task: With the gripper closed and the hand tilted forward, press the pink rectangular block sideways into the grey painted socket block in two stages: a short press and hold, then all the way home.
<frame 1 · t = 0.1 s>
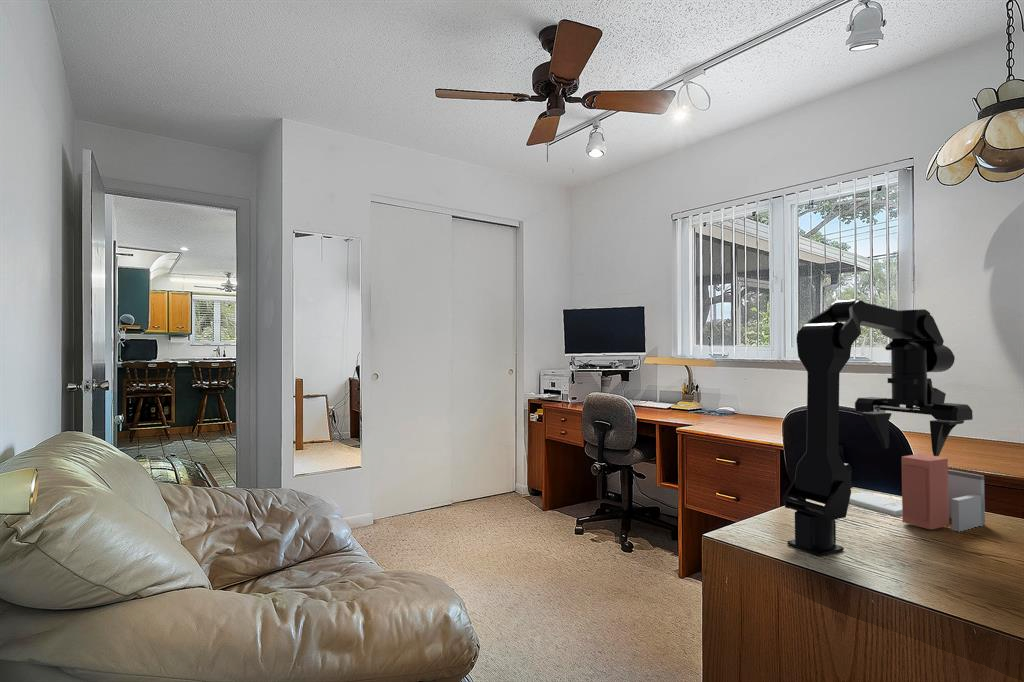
hand: (910, 451, 107), 15 cm above the table, tool pointing down, fingers open, 9 cm apart
external hard drive: (879, 508, 120), on the table
socket block: (948, 520, 110), on the table
pink rectangular block: (924, 490, 106), point 7 cm above the table, slide at 0.0 cm
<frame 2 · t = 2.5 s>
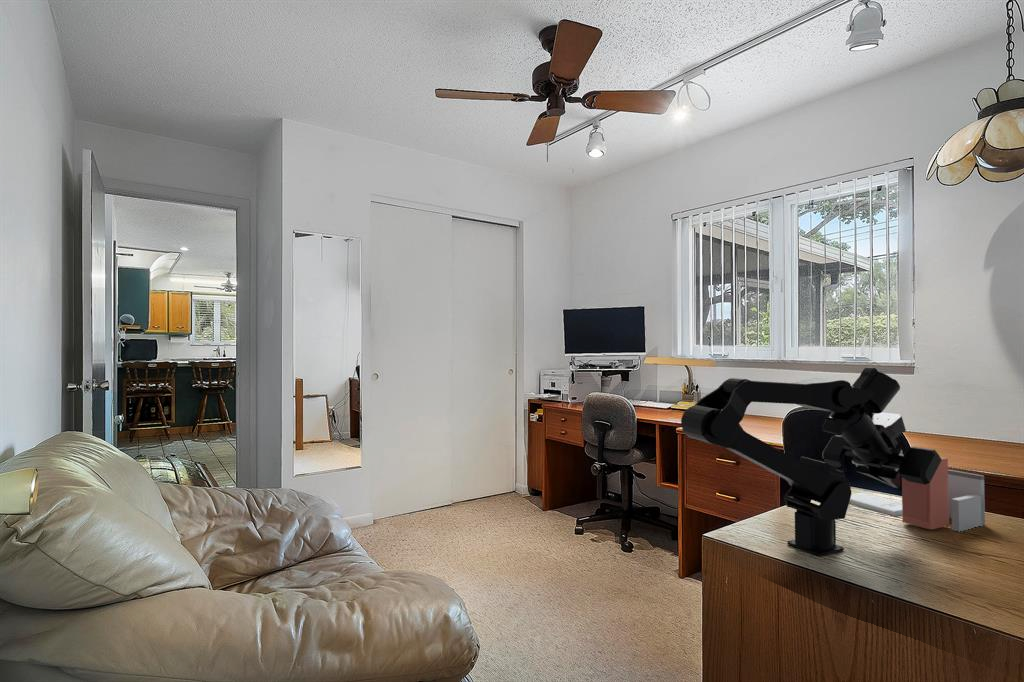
hand: (897, 485, 103), 9 cm above the table, tool tilted 45°, fingers closed
nothing on the table moved.
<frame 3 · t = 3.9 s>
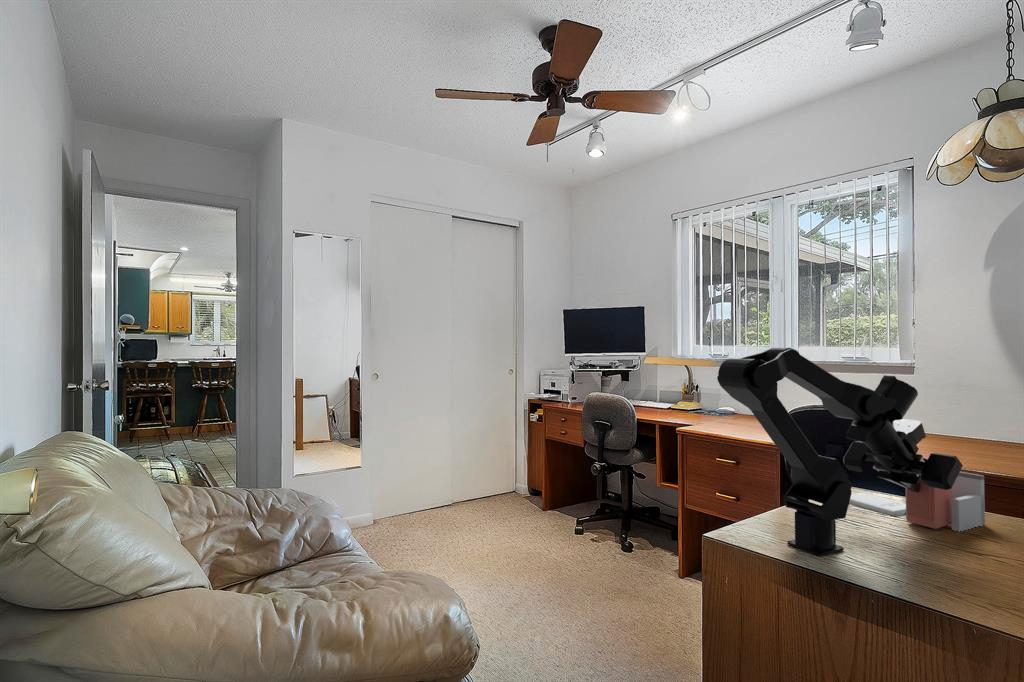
hand: (917, 490, 106), 7 cm above the table, tool tilted 45°, fingers closed, pressing on pink rectangular block
pink rectangular block: (928, 489, 107), point 7 cm above the table, slide at 1.4 cm, touching gripper
everything else where it was.
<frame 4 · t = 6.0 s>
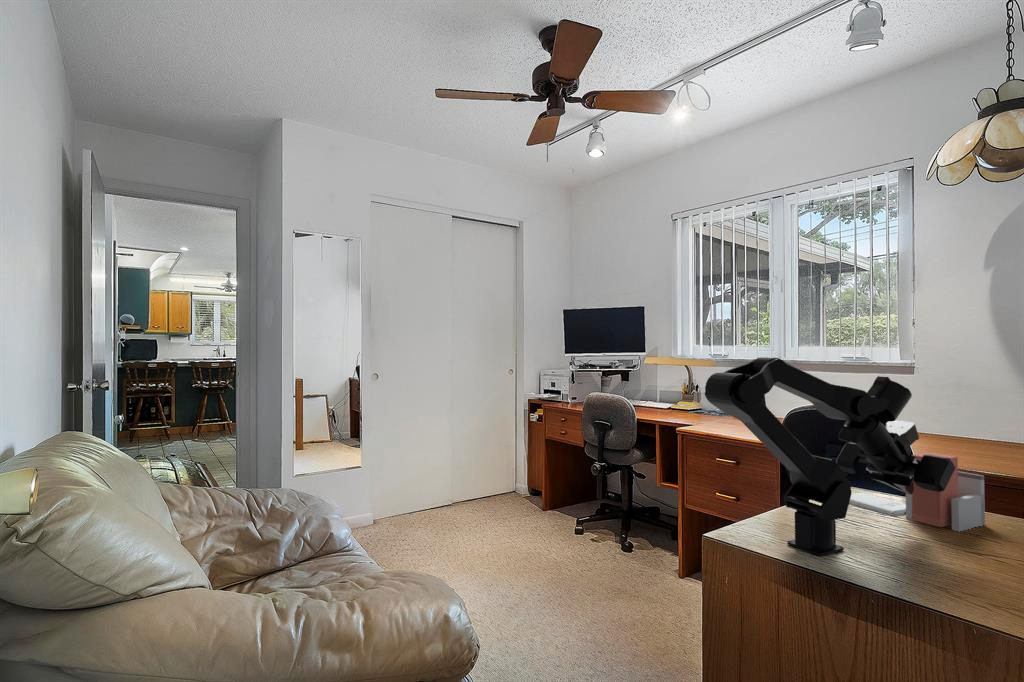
hand: (910, 492, 105), 7 cm above the table, tool tilted 45°, fingers closed
pink rectangular block: (934, 488, 108), point 7 cm above the table, slide at 3.4 cm
everything else where it was.
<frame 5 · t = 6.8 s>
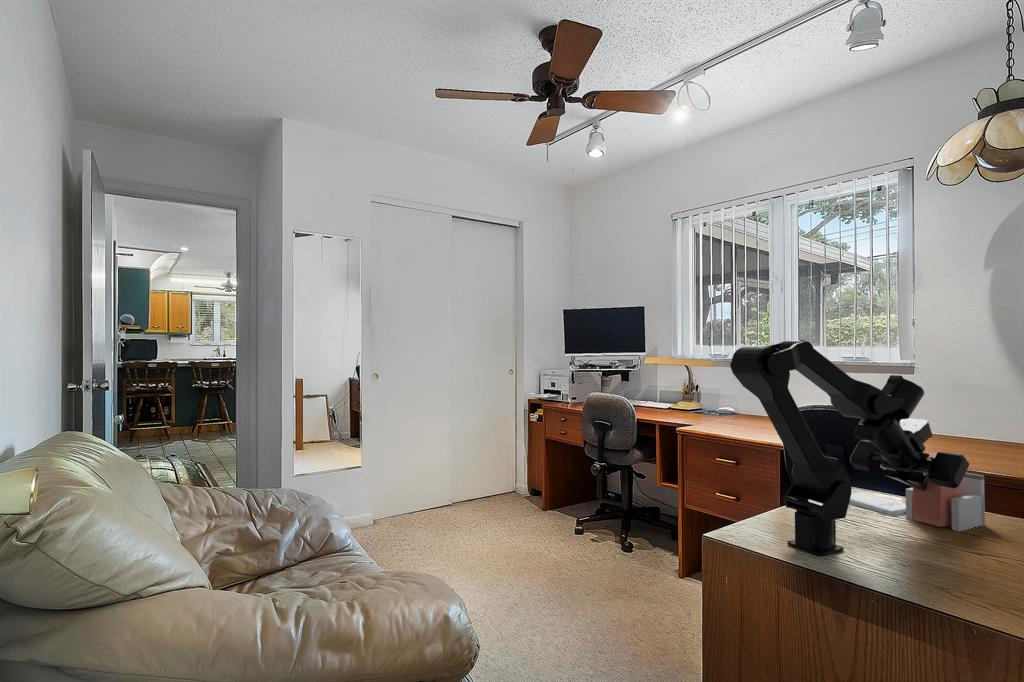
hand: (924, 488, 106), 7 cm above the table, tool tilted 45°, fingers closed, pressing on pink rectangular block
pink rectangular block: (934, 488, 108), point 7 cm above the table, slide at 3.5 cm, touching gripper
everything else where it was.
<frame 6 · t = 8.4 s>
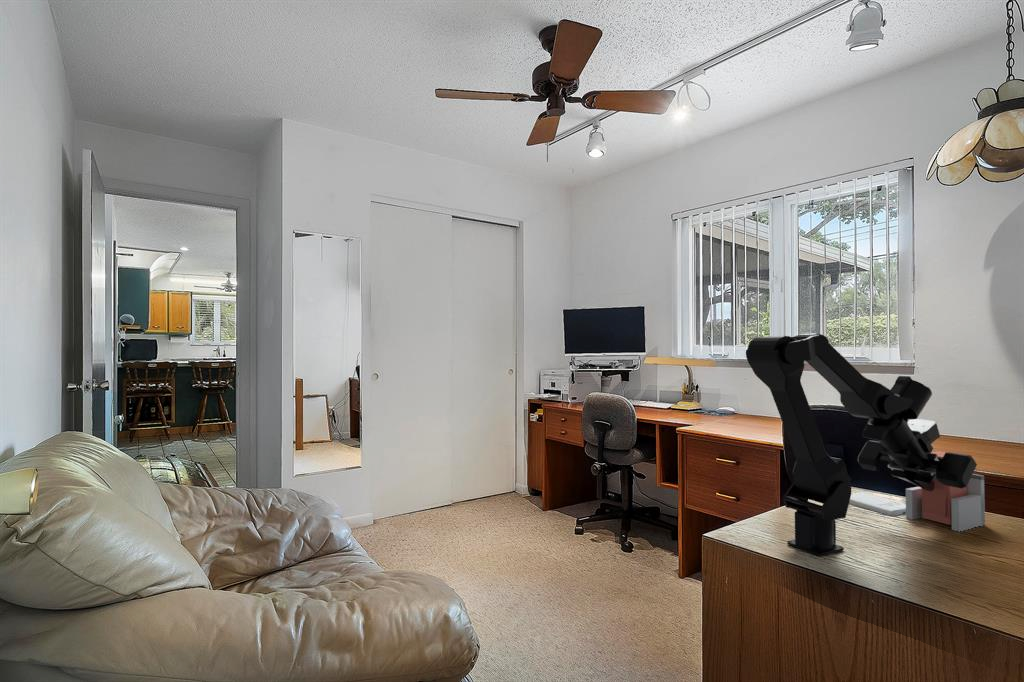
hand: (931, 489, 107), 7 cm above the table, tool tilted 45°, fingers closed
pink rectangular block: (943, 487, 109), point 7 cm above the table, slide at 6.5 cm
everything else where it was.
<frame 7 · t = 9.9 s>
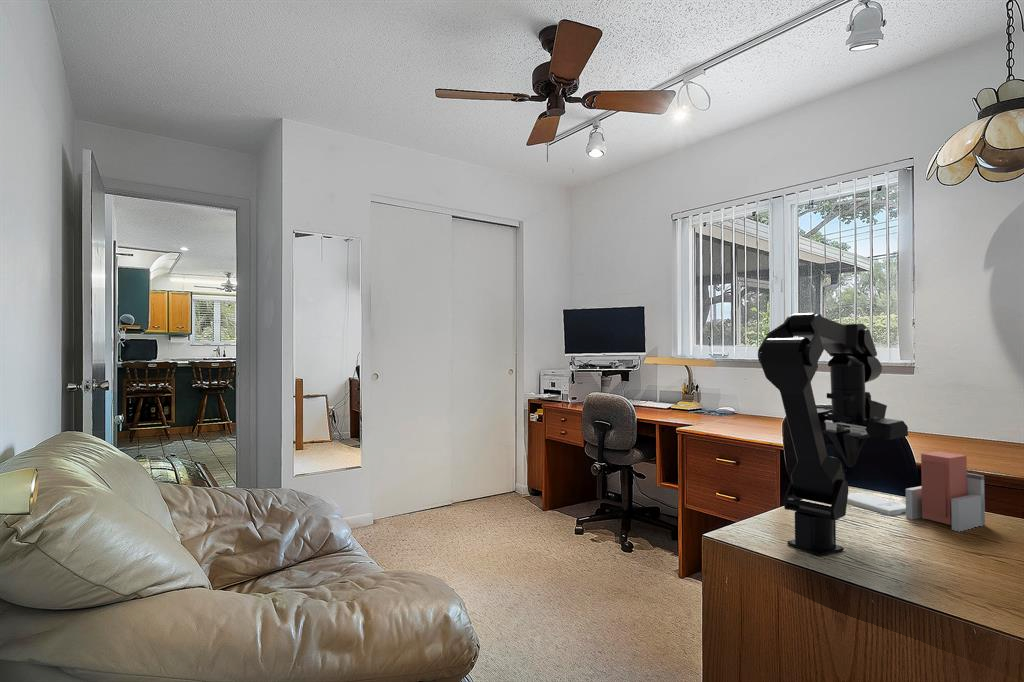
hand: (850, 466, 107), 12 cm above the table, tool pointing down, fingers closed
nothing on the table moved.
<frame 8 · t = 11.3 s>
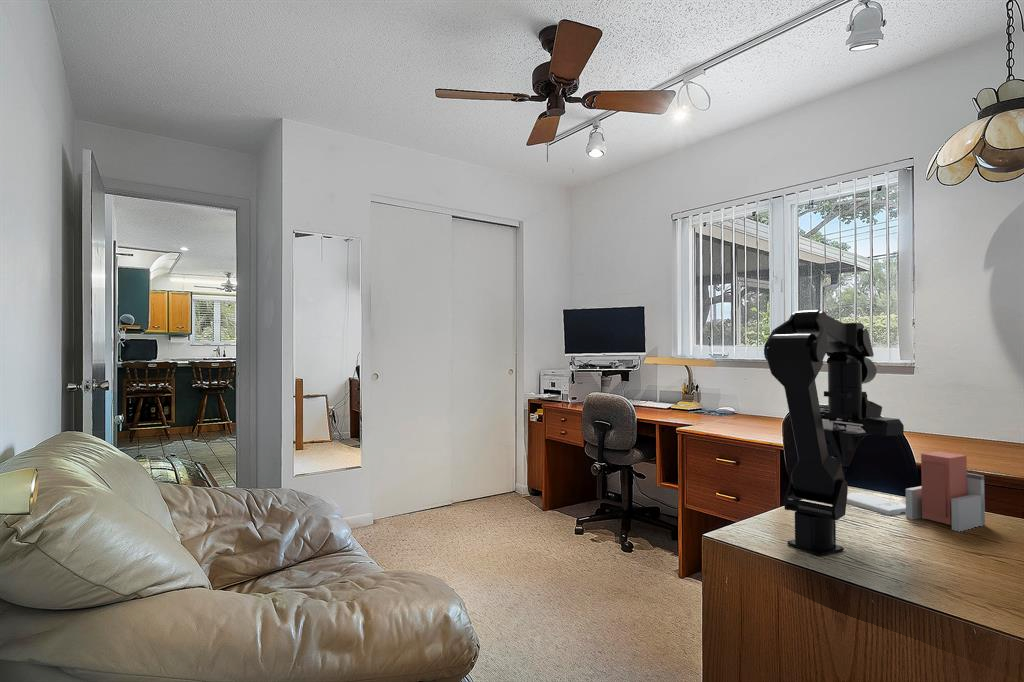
hand: (845, 465, 107), 12 cm above the table, tool pointing down, fingers closed
nothing on the table moved.
at the end: pink rectangular block slide at 6.5 cm; pink rectangular block touching nothing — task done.
